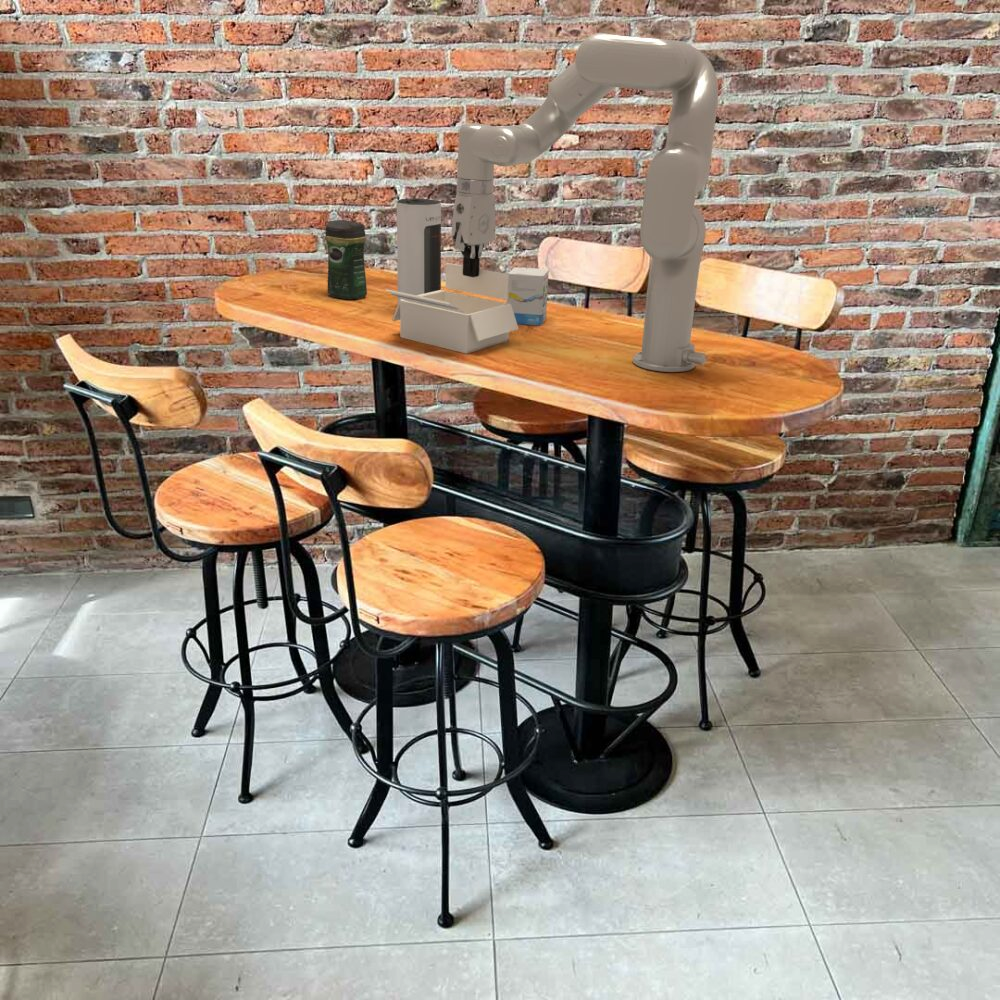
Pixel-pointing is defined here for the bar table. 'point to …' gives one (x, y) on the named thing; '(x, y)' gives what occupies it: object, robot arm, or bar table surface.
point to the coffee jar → (346, 259)
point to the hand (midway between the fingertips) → (470, 275)
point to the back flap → (478, 282)
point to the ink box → (528, 294)
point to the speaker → (418, 246)
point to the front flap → (425, 300)
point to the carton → (456, 322)
